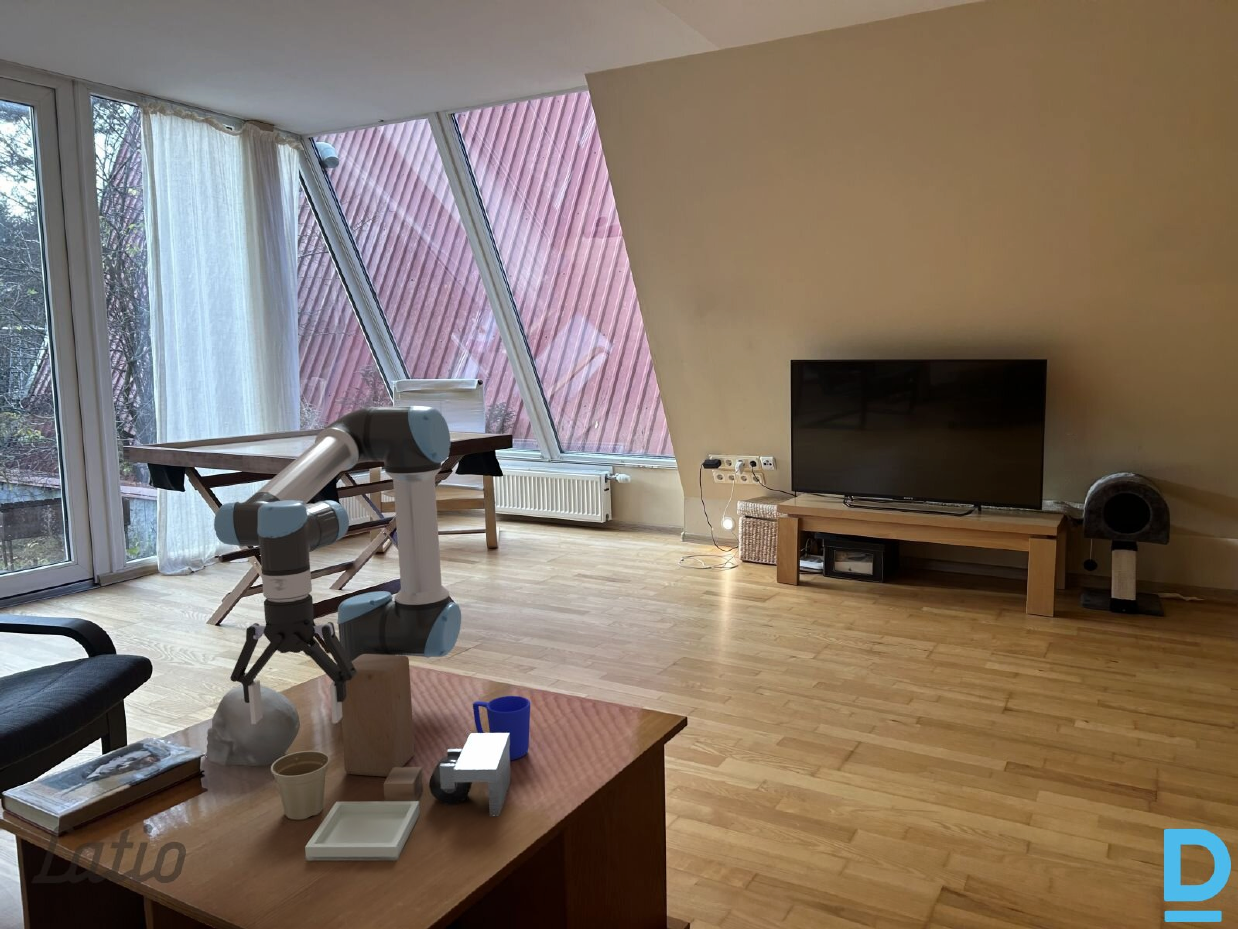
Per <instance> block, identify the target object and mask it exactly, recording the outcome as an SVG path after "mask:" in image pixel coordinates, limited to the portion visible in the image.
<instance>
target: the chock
mask: <svg viewBox="0 0 1238 929" xmlns="http://www.w3.org/2000/svg"><path fill="white" fill-rule="evenodd" d="M423 785H424V784H423V768H422V766H420V767H419V766H418V767H417V766H413V767H411V766H409V767H408V766H406V767H405V766H403V767H393V769H392V770H391V772H390V774H389V775H388V777H386V779H385V780H384V783H383V796H384V798H383V799H384V801H420V800H419V799H420V798H421V795H422V794H423V792H424V787H423Z"/></svg>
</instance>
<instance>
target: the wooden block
mask: <svg viewBox="0 0 1238 929" xmlns="http://www.w3.org/2000/svg"><path fill="white" fill-rule="evenodd" d="M352 664H353V666H354V667H355V669H356V671H357V673H356V675H355V676H354V677H353V678H352V679H351V680H347V681H346V695H347V696H346V699H345V700H344V701H343V702H342V718H341V719H340V721H341V733H342V735H341V736H342V747H343V749H342V750H343V751H342V752H343V762H344V772H345V773H346V774H348V775H356V776H357V775H360V776H372V777H373V776H375V777H386V778H387V777H388V775H389V774H390V772H391V770H392V769H393V767H405V765H406V764H407V763H408V762H409V761H410V760H411V759H412V758H413V756H414V754H415V741H414V739H415V738H414V721H413V720H414V719H413V707H412V706H413V705H412V704H413V703H412V690H411V689H412V688H411V687H412V686H411V674H410V672H411V670H410V659H409V656H405V655H379V654H362V655H360V656H359V657H357V658H356V659H355V660H353V661H352Z"/></svg>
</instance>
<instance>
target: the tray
mask: <svg viewBox="0 0 1238 929" xmlns="http://www.w3.org/2000/svg"><path fill="white" fill-rule="evenodd" d="M420 814H421V806H420V800H418V801H385V800H384V801H377V800H376V801H371V800H370V801H368V800H367V801H336V802H335V803H334V804H333V805H332V807H331V809H330V810H329V812H328V813H327V815H326V816H325V817H324V819H323V820H322V822H321V823H320V825H319V826H318V828H317V829H316V831H315V832H314V833H313V835H312V837H311V838H310V839H309V841H308V842H307V843H306V845H305V847H304V848H305V849H304V850H305V851H304V852H305V861H306V862H307V861H311V862H312V861H315V862H316V861H329V862H330V861H334V862H335V861H338V862H339V861H398V859H399V857H400V855H401V853H402V851H403V849H404V847H405V845H406V843H407V840H408V839H409V837H410V835H411V833H412V830H413V829H414V826H415V825H416V822H417V820H418V818H419V817H420V816H421V815H420Z"/></svg>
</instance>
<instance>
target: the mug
mask: <svg viewBox="0 0 1238 929" xmlns="http://www.w3.org/2000/svg"><path fill="white" fill-rule="evenodd" d="M480 707H482V708H485V709H486V714H487V721H488V728H489V733H510V746H509V755H510V761H511V760H512V761H515V760H517V759H520V758H523V757H524V756H525V755H526V754H528V751H529V746H530V727H531V726H530V724H531V722H530V720H531V701H530V700H529V698H526V697H523V696H520V695H519V696H518V695H507V696H506V695H505V696H500V697H497V698H493V699H491V700H490V701H489V702H487V701H474V702H473V704H472V711H473V716H474V717H473V718H474V724H475V728H476V733H485V732H484V729H483V726H482V722H481V714H480Z"/></svg>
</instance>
